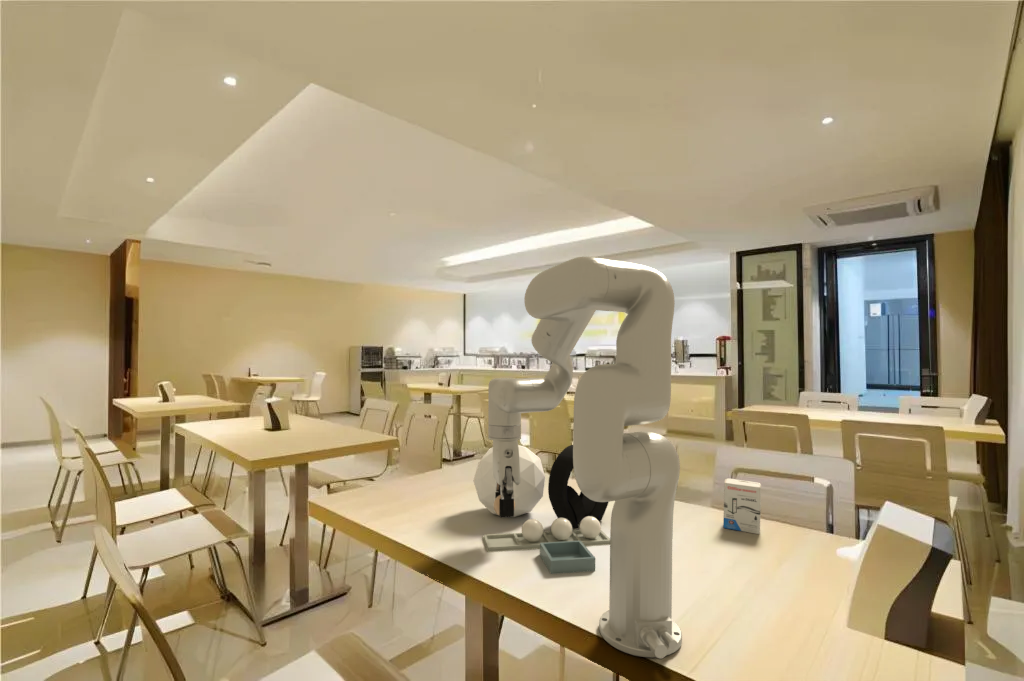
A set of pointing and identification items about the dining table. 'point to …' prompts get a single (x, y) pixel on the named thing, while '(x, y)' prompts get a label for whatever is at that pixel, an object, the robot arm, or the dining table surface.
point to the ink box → (742, 505)
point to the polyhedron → (524, 493)
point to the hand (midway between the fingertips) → (504, 512)
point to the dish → (567, 557)
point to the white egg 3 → (590, 527)
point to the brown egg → (496, 504)
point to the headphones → (570, 493)
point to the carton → (520, 543)
